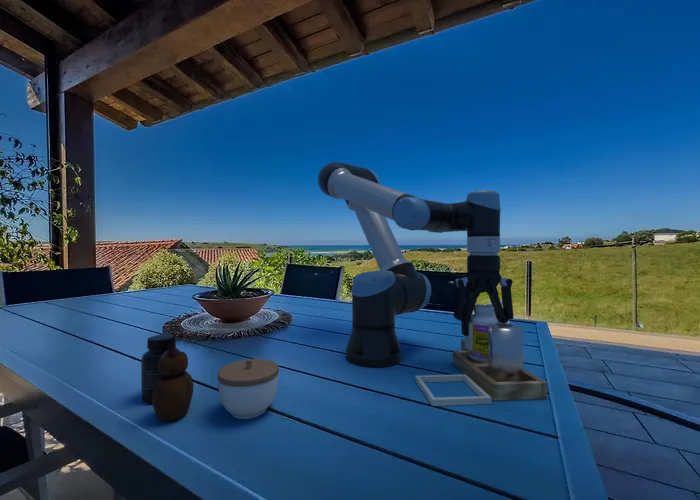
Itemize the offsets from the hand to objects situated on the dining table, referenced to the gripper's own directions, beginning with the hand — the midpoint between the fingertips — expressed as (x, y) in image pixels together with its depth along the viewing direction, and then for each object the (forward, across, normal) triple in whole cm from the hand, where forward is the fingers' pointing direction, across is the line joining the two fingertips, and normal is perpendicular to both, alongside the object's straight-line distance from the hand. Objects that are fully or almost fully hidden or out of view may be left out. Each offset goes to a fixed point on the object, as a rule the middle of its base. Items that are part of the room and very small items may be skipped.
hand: (483, 348), depth 79 cm
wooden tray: (+5, 0, -5) cm, 7 cm away
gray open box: (+5, +4, +10) cm, 12 cm away
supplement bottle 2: (+3, 0, 0) cm, 3 cm away
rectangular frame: (+5, -12, -11) cm, 17 cm away
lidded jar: (+6, -52, -16) cm, 55 cm away
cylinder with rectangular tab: (+6, +18, +27) cm, 33 cm away
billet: (+5, 0, -10) cm, 11 cm away
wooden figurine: (+6, -66, -17) cm, 68 cm away
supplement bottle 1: (+6, -72, -9) cm, 72 cm away
